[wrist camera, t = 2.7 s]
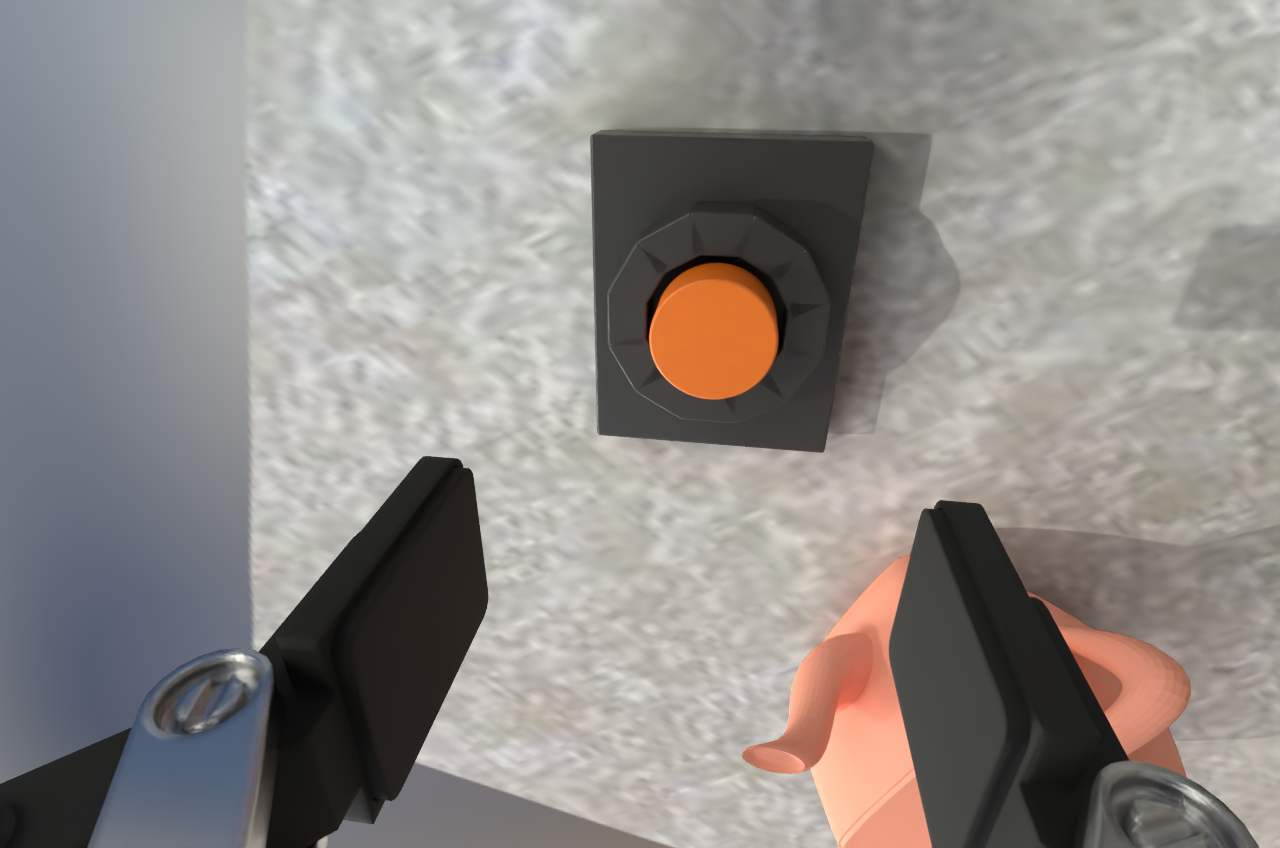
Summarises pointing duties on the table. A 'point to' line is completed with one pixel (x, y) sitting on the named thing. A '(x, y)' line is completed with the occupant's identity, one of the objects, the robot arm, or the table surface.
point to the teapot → (874, 729)
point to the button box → (733, 234)
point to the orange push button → (714, 331)
